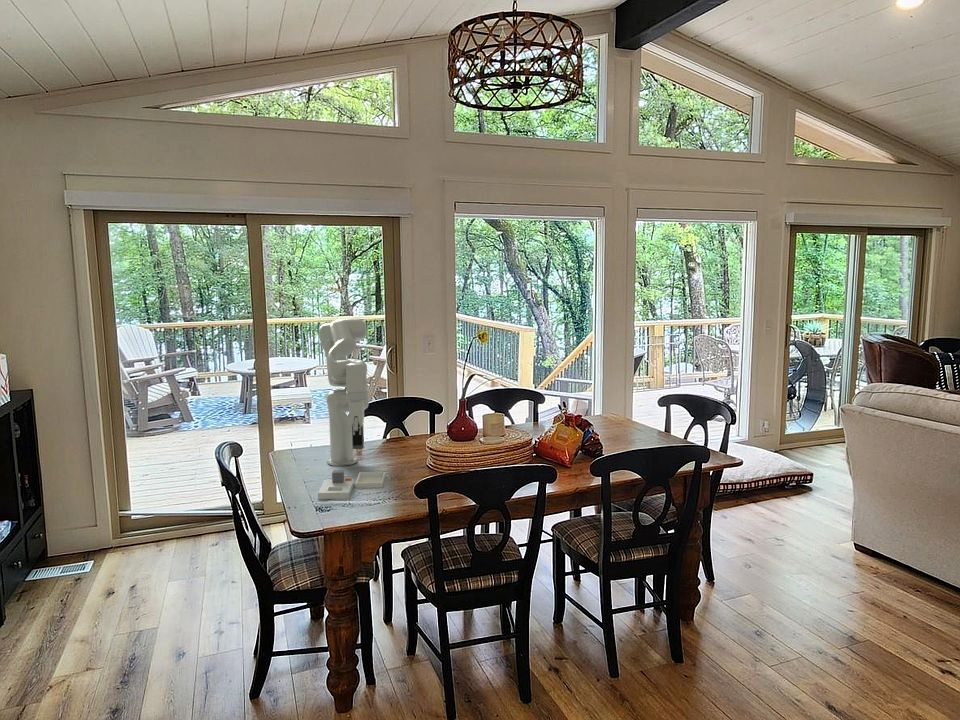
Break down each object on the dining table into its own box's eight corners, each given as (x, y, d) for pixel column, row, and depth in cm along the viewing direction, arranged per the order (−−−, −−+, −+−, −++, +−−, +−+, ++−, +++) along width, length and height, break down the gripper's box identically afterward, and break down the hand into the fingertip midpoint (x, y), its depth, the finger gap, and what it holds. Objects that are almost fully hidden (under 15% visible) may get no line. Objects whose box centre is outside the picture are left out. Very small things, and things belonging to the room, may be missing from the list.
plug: (353, 447, 251) (352, 423, 250) (364, 446, 251) (363, 423, 250) (352, 449, 248) (351, 425, 247) (363, 448, 248) (362, 425, 247)
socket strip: (325, 486, 253) (324, 469, 252) (354, 486, 254) (353, 468, 253) (318, 501, 238) (317, 482, 237) (349, 500, 239) (348, 481, 238)
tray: (359, 478, 264) (359, 472, 263) (385, 477, 264) (385, 471, 264) (355, 489, 251) (355, 483, 250) (382, 489, 251) (382, 482, 251)
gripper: (348, 392, 255) (350, 438, 257) (344, 400, 238) (345, 450, 241) (368, 391, 255) (369, 438, 258) (365, 400, 239) (366, 449, 242)
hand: (358, 443), depth 249 cm, fingers closed on plug, 3 cm apart
